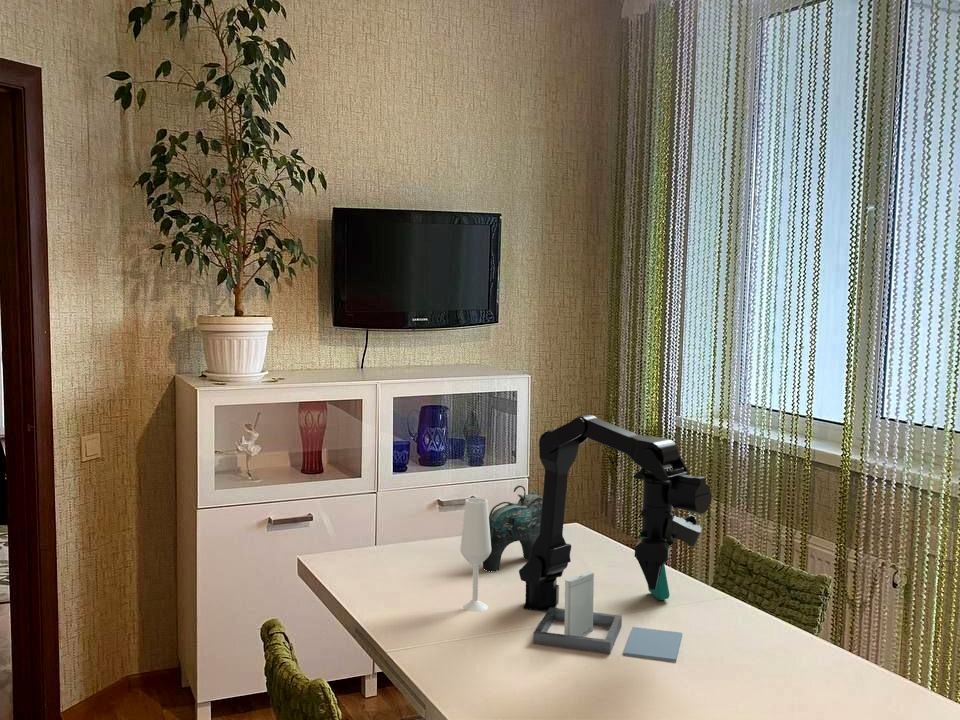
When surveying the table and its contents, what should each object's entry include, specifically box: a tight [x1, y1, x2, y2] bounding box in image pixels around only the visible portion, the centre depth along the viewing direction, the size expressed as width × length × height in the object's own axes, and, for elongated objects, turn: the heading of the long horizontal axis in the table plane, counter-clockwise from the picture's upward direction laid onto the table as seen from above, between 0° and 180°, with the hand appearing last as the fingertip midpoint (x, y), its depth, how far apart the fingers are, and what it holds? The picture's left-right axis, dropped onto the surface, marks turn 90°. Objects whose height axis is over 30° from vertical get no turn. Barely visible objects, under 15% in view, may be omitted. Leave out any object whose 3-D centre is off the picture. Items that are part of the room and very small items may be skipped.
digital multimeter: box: [639, 536, 670, 601], centre depth 214 cm, size 7×15×3 cm
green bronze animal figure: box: [482, 485, 543, 573], centre depth 236 cm, size 20×6×20 cm, turn 133°
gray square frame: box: [532, 607, 623, 655], centre depth 191 cm, size 15×15×2 cm
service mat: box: [622, 626, 683, 663], centre depth 187 cm, size 10×14×1 cm
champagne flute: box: [459, 497, 491, 612], centre depth 205 cm, size 7×7×24 cm
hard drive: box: [563, 571, 595, 637], centre depth 190 cm, size 2×8×12 cm, turn 138°
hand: (655, 582), depth 185 cm, fingers open, 8 cm apart
